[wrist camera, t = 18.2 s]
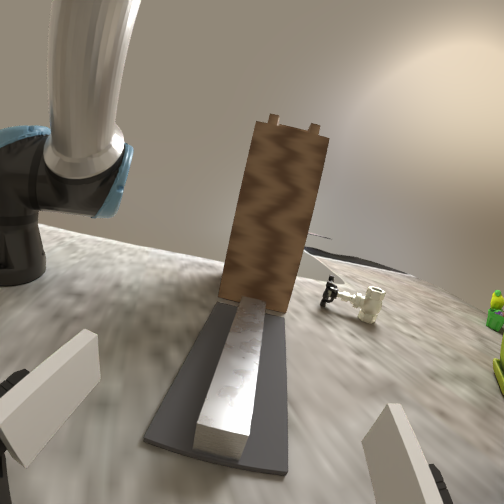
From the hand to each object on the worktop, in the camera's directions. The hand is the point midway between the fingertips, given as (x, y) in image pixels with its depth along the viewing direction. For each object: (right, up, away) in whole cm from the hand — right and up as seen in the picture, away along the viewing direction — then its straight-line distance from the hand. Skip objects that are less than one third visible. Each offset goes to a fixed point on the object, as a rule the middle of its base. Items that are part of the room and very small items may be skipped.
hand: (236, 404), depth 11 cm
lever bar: (-1, -6, +18) cm, 19 cm away
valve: (+20, -6, +43) cm, 48 cm away
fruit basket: (+77, -17, +51) cm, 94 cm away
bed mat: (-1, -6, +20) cm, 21 cm away
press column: (+1, -1, +45) cm, 45 cm away
